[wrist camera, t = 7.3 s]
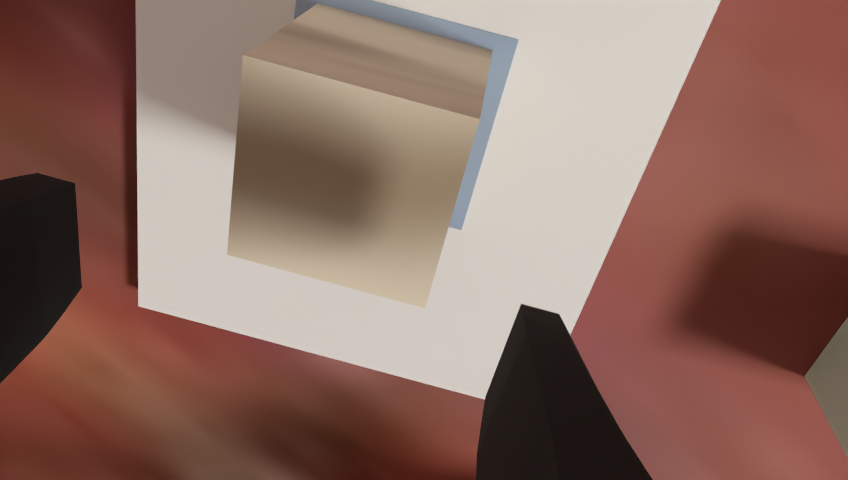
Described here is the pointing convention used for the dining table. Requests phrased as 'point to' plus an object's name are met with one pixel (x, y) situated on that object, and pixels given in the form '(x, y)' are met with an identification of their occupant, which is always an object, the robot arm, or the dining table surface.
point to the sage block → (833, 383)
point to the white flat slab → (479, 192)
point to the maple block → (353, 150)
